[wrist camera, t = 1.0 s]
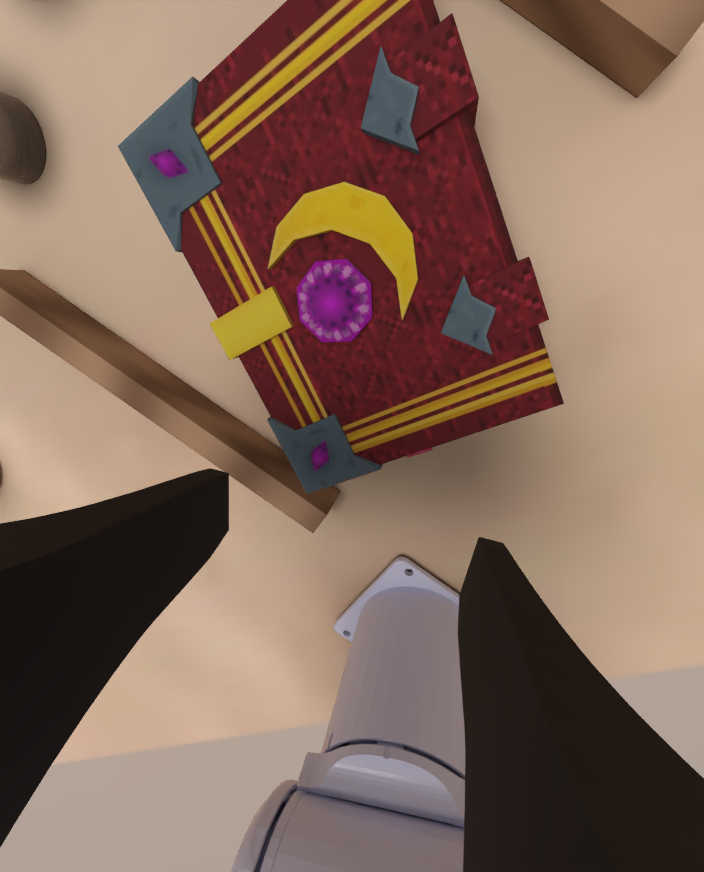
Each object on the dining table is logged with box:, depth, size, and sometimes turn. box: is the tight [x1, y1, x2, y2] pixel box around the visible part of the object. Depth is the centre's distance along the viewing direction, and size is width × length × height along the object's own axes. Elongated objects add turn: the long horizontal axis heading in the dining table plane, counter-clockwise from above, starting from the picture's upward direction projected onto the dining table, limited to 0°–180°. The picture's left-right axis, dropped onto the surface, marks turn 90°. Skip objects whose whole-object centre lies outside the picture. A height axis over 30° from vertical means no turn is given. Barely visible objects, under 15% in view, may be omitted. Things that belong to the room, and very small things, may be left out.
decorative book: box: [118, 0, 564, 494], centre depth 15 cm, size 11×16×5 cm
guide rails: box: [0, 0, 704, 533], centre depth 16 cm, size 22×23×2 cm
